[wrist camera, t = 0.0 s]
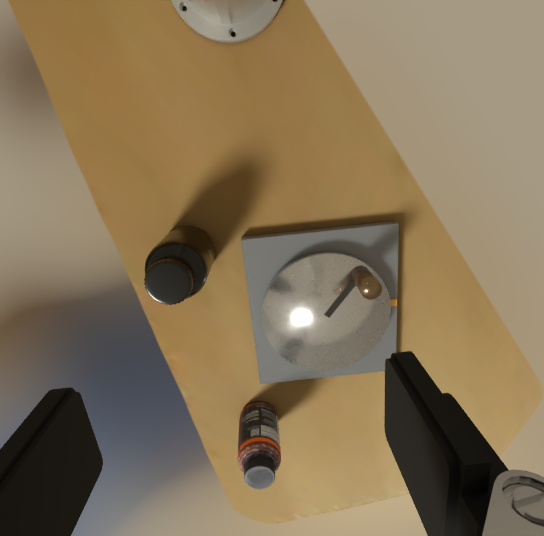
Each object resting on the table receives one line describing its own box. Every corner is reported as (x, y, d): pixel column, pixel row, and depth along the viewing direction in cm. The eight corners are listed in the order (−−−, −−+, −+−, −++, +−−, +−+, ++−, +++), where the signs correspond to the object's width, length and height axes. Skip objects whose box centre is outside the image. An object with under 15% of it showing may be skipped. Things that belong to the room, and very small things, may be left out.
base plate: (241, 236, 47) (241, 240, 45) (394, 220, 47) (399, 223, 45) (260, 377, 54) (260, 384, 53) (392, 363, 54) (396, 370, 53)
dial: (335, 382, 53) (345, 414, 47) (237, 326, 49) (235, 353, 43) (412, 294, 49) (434, 316, 43) (311, 225, 45) (320, 239, 39)
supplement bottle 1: (226, 257, 48) (216, 294, 37) (183, 283, 49) (161, 326, 38) (195, 214, 46) (175, 238, 34) (152, 241, 47) (118, 274, 35)
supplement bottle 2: (257, 436, 58) (257, 502, 48) (231, 414, 57) (225, 478, 46) (285, 416, 57) (291, 479, 46) (260, 393, 55) (260, 453, 45)
